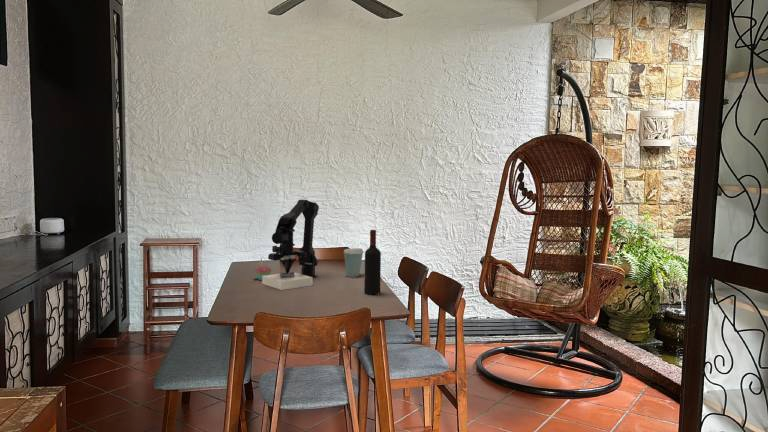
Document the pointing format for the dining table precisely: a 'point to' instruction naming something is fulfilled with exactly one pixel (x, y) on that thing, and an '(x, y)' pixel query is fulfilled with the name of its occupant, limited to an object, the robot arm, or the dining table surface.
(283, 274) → the plunger
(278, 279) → the block
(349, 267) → the disposable coffee cup
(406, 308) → the dining table surface
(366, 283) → the wine bottle
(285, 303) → the dining table surface
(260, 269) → the cupcake
